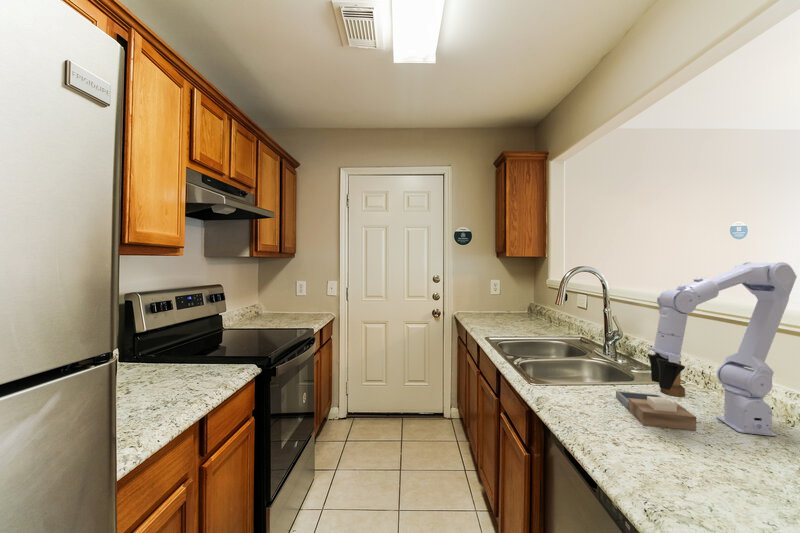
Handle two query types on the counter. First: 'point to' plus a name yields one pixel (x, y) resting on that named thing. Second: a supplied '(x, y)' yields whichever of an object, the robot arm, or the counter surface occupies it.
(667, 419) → the wooden cutting board
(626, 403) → the box
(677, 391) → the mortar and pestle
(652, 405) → the tile
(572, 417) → the counter surface
